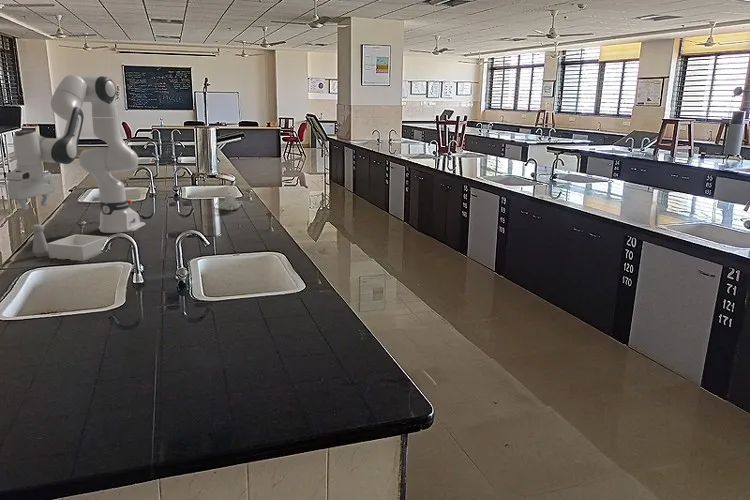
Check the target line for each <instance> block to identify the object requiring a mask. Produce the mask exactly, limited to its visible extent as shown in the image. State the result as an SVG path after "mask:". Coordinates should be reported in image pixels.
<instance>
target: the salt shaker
mask: <svg viewBox="0 0 750 500" xmlns="http://www.w3.org/2000/svg"><path fill="white" fill-rule="evenodd" d="M30 228H31V232H33V237H32V238H33V239H32V250H31V251H32V253H33V255H34V256H35V257H36V258H45V257H44V256H46V257H47V256H49V253H48V246H47V243H48V242H47V240H46V237H45V234H44V230H45V226H44V225H43V224H40V223H38V224H37V223H36V224H32V225H31V227H30Z"/></svg>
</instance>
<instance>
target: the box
mask: <svg viewBox="0 0 750 500" xmlns="http://www.w3.org/2000/svg"><path fill="white" fill-rule="evenodd" d="M108 238H109V239H110V237H109V236H101V235H90V234H89V235H88V234H77V233H76V234H73V235H69V236H67V237H64V238H59V239H57V240H54V241H51V242H47V246H48V259H54V258H57V259H58V260H65V259H70V260H69V261H76V260H77V261H78V262H86V261H87V260H90V258H91V259H93V258H95V257H99V256H100V255H99V254H101V253H103V252H102V251H101V248H102V246H103V244H104V243H105V241H106V240H107V239H108ZM108 249H109V250H110V251H111V245H109V248H108ZM103 254H104V253H103ZM101 255H102V254H101ZM85 260H86V261H85Z"/></svg>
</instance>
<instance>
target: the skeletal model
mask: <svg viewBox="0 0 750 500" xmlns="http://www.w3.org/2000/svg"><path fill="white" fill-rule="evenodd" d="M223 200H224V201H222V202H221V201H218V202H215V204H214V205H215V207H217V206H218V207H219V208H220V209H222V210H226V211H229V210H232V211H234V210H236V209H238V208H239V207H240V206H241V204H242V206H244V202H243V201H241V200H239V201H237V200H236V196H235V195H232V193H231V191H227V195H225V196H224V197H223Z"/></svg>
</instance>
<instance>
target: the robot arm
mask: <svg viewBox="0 0 750 500" xmlns="http://www.w3.org/2000/svg"><path fill="white" fill-rule="evenodd" d="M116 95H117V87H116V84H115V83H114V80H113V79H112V78H110V77H107V76H103V75H102V76H97V75H87V76H85V75H84V76H79V75H75V74H68V75H66V76H65V77H63V79H62V80H60V82H59V84H58V86H57V87H56V89H55V91H54V92H53V95H52V97H51V100H50V107H51V109H52V111H53V113H54V114H56V116H58V117H60V119H62V120H65V121H66V125H65V128H64V133H63V135H61V136H60V137H56V138H54V137H51V138H50V137H45V136H43V135H40V134H39V133H37V131H36V130H34V129H24V130H19V131H16V132H15V134H14V135H13V151H14V156H15V158H16V164H15V165H16V168H15V169H13V170H12V171H10V172H8V173H7V174H6V176H5V177H6V180H8V181H7V193H8V197H9V198H10V199H11V200H12V201H13V200H15V201H18V203H19V204H20V206H21V208H22V210H23V211H28V210H29V209H30V205H29V204H27V203H26V201H27V199H28V198H29V199H30V198H34V197H38V196H41V197H42V199H41V201H40V206H41V207H45V206H48V200H49V197H50V194H54V193H55V192H56V185H55V181H54V178H53V175H52V172H51V171H49V170H44V165H43V163H53V164H54V163H55V164H63V165H69V164H71V163H73V162H74V161H75V159H76V158H77V156H78V144H79V140H80V138H81V137H80V136H81V132H82V130H83V129H82V128H83V123H84V118H85V117H84V112H83V110H82V106H83V103H91V119H92V129H93V134H94V136H95V137H96V138H97V139H98V140H101V141H103V142H105V143H106V145H107V147H106V148H103V147H102V148H99V147H97V148H96V147H95V148H94V147H93V148H88V149H83V150H82V151H81V152H80V154H79V157H78V161H79V165H80V167H81V168H82V169H83V170H84V171H86V172H87V173H89V174H90V175H91V177H92V178H94V180H95V181H96V184H97V187H98V193H99V198H100V201H99V207H100V210H101V211H100V212H99V226H98V230H99V231H100V232H101V233H104V234H105V233H106V234H108V233H109V234H114V233H115V234H117V233H126V232H127V233H128V232H135V231H137V230H138V229H140V228H142V227H143V226H146V223H145V222H143V221H141V220H140V215H139V213H138V212H136V211H135V210H133V209H132V208H131V207H130V206H129V205H132V203H133V201H132V199H126V198H127V197H126V188H125V187H126V186H125V184H124V183H123V182H122V181H121V180H119V179H116V178H115V177H114V176H113V175H112V173H126V172H127V173H128V172H131V171H132V172H133V171H135V170H136V169H137V168H138V165H139V156H138V154H137V153H136V151H134V149H132V148H130V146H128V145H127V144H126V142H125V141H124V139H123V136H122V135H121V128H120V127H121V126H120V119H119V111H118V106H117V102H116V99H115V98H116Z"/></svg>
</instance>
